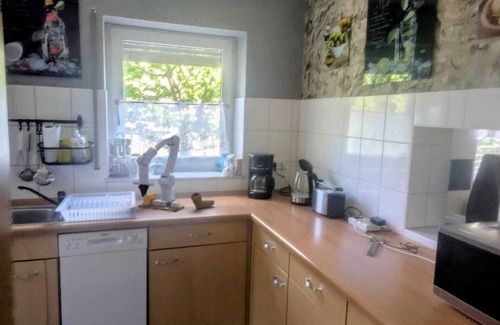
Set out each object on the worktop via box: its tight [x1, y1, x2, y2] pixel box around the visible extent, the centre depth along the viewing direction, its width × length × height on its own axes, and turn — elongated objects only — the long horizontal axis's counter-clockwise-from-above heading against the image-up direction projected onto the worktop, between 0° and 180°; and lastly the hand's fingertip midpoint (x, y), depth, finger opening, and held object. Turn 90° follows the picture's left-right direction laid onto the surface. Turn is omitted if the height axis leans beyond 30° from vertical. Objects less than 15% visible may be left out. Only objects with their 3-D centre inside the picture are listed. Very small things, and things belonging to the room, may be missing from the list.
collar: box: [143, 192, 157, 205], centre depth 212 cm, size 3×8×6 cm, turn 161°
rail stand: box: [137, 198, 185, 213], centre depth 210 cm, size 26×10×4 cm, turn 71°
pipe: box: [190, 192, 215, 210], centre depth 211 cm, size 6×17×10 cm, turn 133°
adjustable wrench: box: [366, 236, 387, 257], centre depth 153 cm, size 25×6×2 cm, turn 146°
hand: (143, 196), depth 213 cm, fingers closed
